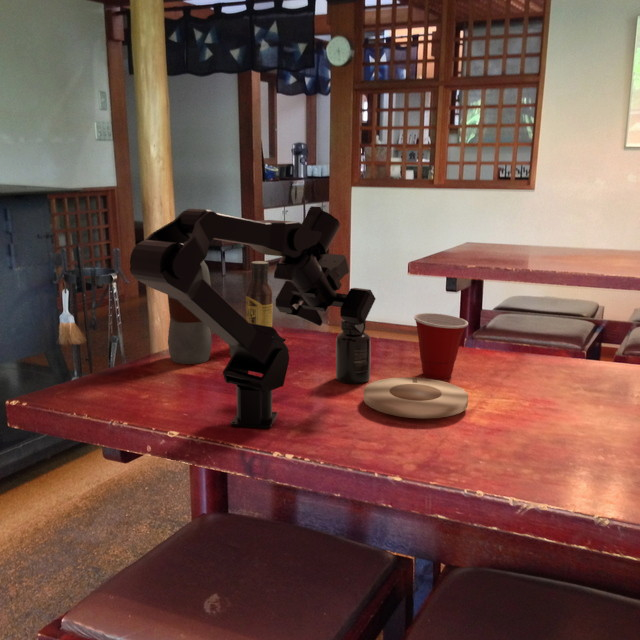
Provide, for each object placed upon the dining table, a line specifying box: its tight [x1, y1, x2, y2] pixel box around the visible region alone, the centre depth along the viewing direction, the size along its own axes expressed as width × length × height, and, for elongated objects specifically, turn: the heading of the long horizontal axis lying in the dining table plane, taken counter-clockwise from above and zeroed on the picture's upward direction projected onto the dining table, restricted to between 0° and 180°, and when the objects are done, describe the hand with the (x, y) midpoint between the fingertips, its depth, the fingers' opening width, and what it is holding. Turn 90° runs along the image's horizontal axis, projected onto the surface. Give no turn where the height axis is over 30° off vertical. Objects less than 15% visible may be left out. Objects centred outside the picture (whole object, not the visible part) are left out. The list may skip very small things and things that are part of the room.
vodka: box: [167, 241, 213, 365], centre depth 142 cm, size 9×9×30 cm
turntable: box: [363, 376, 469, 419], centre depth 117 cm, size 18×18×2 cm
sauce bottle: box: [245, 260, 274, 327], centre depth 156 cm, size 6×6×20 cm
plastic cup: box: [413, 312, 469, 380], centre depth 135 cm, size 11×11×12 cm
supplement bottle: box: [335, 319, 372, 385], centre depth 131 cm, size 7×7×12 cm
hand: (340, 327), depth 126 cm, fingers open, 9 cm apart
